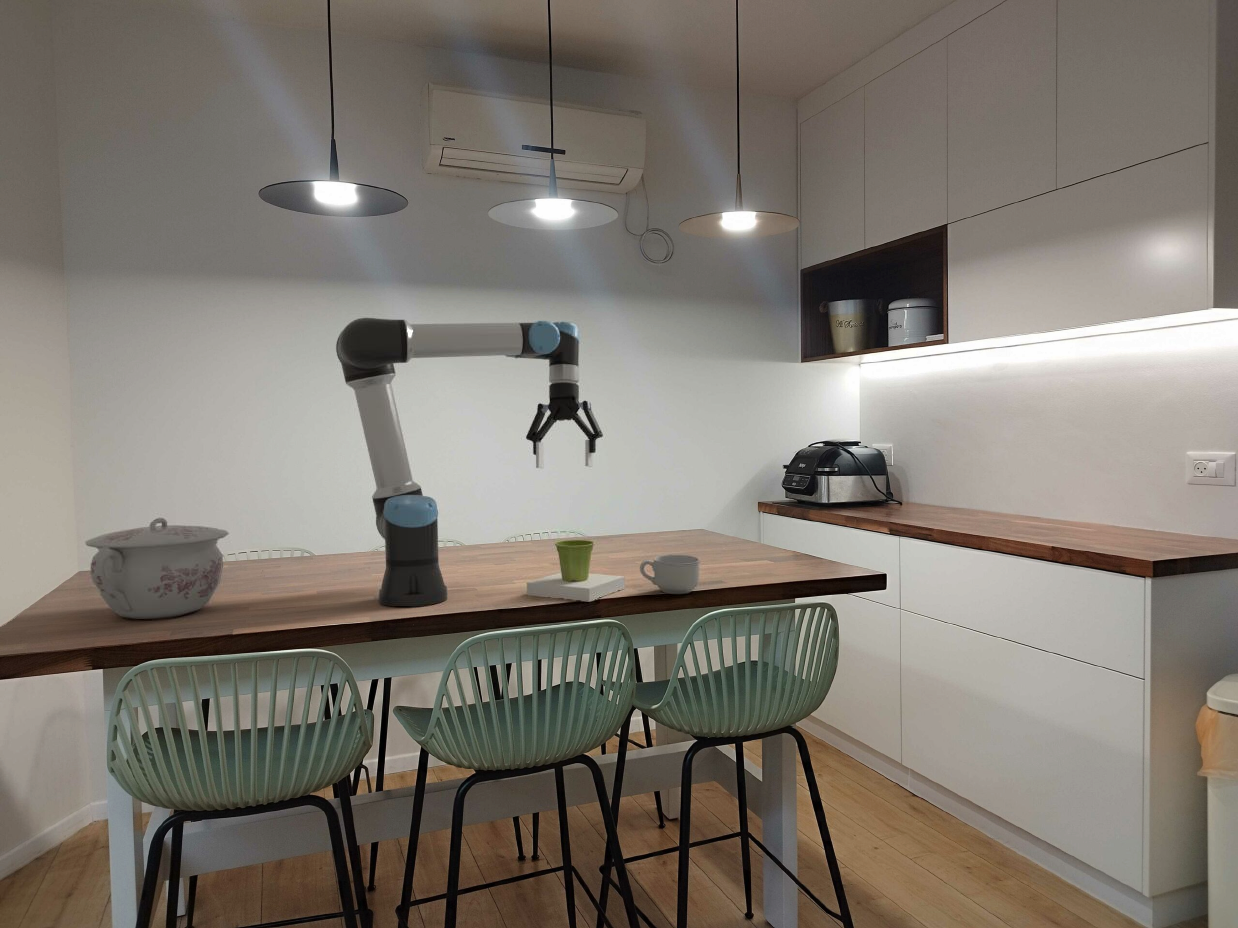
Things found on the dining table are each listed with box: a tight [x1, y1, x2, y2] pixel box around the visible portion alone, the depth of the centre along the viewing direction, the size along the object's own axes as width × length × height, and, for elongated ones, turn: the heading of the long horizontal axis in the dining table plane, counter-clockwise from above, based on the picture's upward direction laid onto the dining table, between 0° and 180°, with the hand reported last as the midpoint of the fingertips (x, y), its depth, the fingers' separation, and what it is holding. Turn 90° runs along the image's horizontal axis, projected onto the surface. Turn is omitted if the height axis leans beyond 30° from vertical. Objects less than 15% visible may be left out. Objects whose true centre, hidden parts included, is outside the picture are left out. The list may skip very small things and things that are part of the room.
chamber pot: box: [84, 517, 230, 620], centre depth 187 cm, size 28×27×21 cm
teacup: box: [639, 553, 701, 595], centre depth 202 cm, size 14×11×8 cm
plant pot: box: [554, 539, 596, 581], centre depth 203 cm, size 9×9×9 cm
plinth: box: [526, 572, 626, 603], centre depth 203 cm, size 17×16×3 cm
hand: (564, 467), depth 219 cm, fingers open, 13 cm apart
